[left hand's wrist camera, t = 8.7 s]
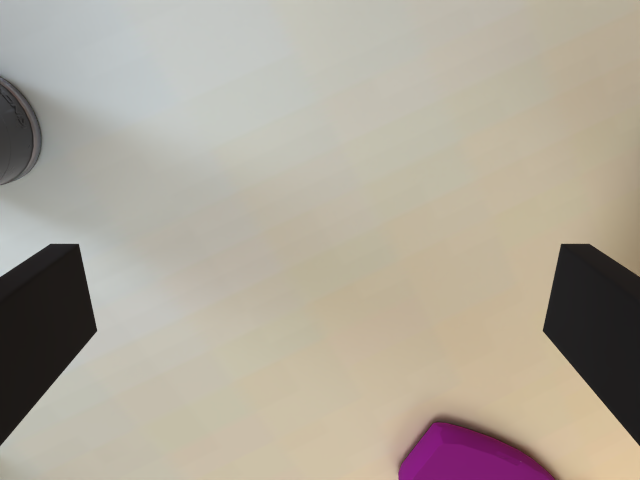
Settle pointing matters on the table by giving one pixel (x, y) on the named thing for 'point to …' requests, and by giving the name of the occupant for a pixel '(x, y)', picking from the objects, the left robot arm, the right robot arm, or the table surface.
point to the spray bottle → (467, 458)
